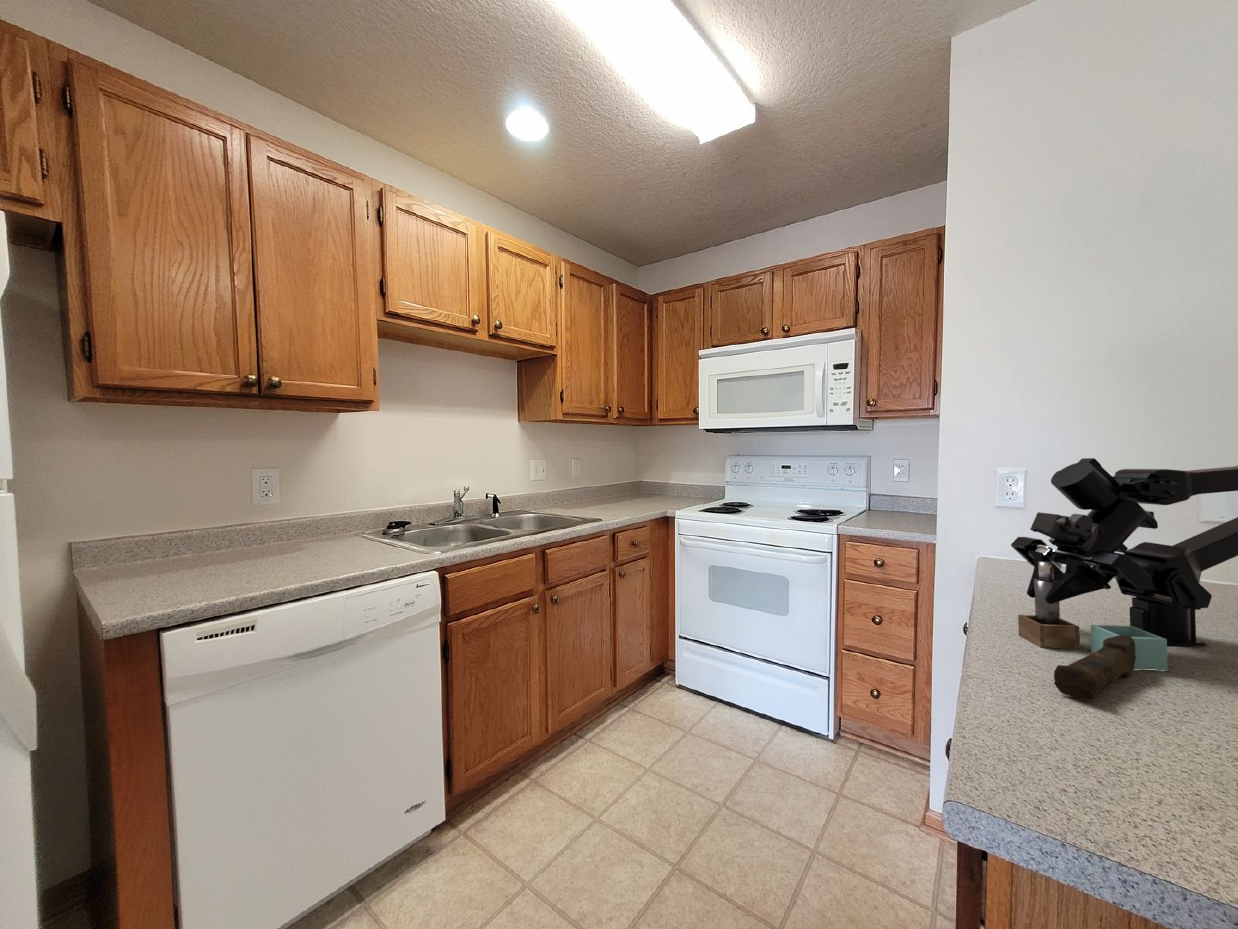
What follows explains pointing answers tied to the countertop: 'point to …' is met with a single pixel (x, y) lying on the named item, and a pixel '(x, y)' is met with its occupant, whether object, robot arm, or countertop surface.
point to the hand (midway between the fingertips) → (1038, 598)
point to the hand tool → (1097, 668)
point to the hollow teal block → (1146, 645)
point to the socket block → (1049, 633)
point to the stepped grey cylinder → (1042, 586)
